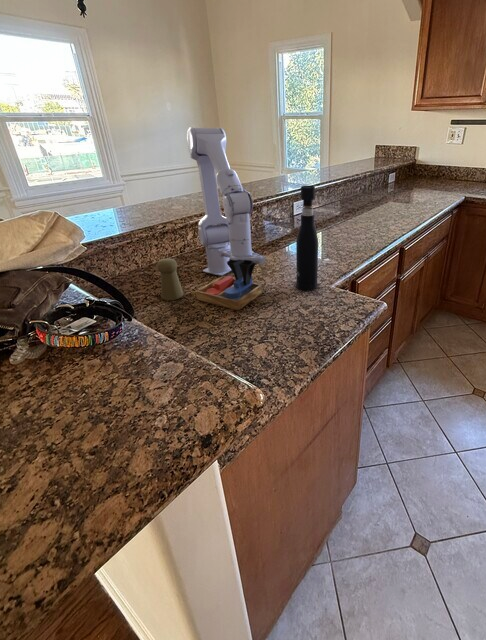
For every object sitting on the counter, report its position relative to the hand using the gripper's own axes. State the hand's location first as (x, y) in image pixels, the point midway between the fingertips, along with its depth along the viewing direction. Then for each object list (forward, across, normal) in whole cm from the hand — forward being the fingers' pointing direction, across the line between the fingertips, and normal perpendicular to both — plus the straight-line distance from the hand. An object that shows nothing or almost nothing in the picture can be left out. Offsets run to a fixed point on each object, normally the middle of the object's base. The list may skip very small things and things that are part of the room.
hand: (243, 283), depth 101 cm
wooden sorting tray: (+4, -4, -2) cm, 6 cm away
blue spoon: (+1, 0, -2) cm, 3 cm away
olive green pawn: (+4, -18, -10) cm, 21 cm away
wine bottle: (+4, +14, +14) cm, 20 cm away
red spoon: (+3, -7, -2) cm, 8 cm away
